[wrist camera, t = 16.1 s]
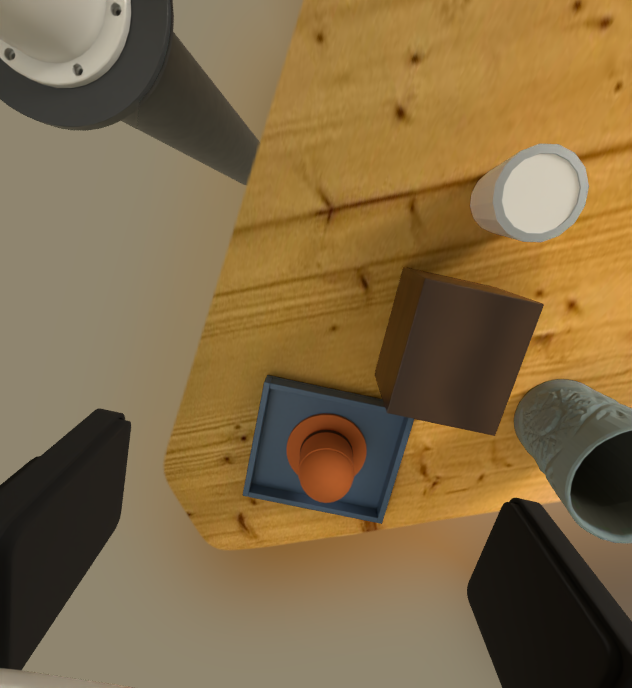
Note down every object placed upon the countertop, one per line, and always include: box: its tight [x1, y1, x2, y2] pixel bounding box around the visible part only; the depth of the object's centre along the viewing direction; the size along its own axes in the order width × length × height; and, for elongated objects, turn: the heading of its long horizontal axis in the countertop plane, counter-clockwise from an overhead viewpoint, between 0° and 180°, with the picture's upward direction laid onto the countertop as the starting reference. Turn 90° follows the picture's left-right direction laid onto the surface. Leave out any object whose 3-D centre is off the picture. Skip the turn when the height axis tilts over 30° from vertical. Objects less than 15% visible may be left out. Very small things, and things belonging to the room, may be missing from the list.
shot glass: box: [470, 144, 589, 242], centre depth 33 cm, size 7×7×7 cm
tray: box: [243, 375, 414, 524], centre depth 43 cm, size 15×13×2 cm
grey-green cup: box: [514, 379, 632, 543], centre depth 36 cm, size 10×10×12 cm
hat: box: [286, 413, 367, 503], centre depth 40 cm, size 8×8×7 cm
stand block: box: [375, 267, 544, 436], centre depth 36 cm, size 9×11×9 cm
